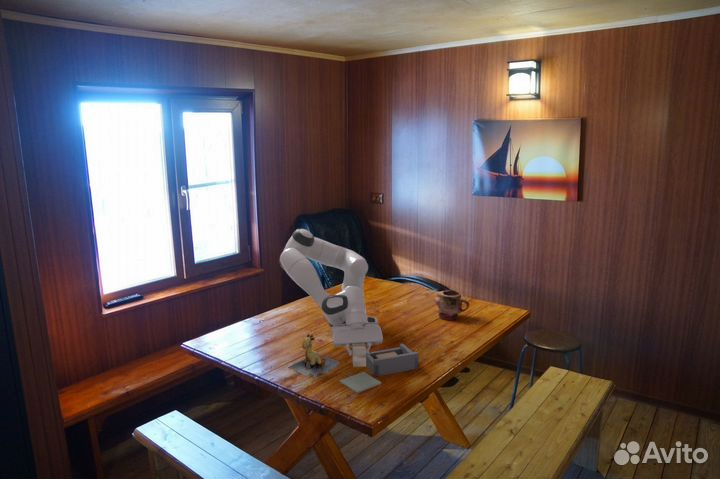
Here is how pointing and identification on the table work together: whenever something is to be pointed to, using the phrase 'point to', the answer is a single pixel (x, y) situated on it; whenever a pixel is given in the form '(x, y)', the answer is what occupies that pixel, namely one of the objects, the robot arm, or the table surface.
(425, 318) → the table surface
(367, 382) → the mat
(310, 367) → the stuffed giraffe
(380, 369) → the nook
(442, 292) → the brown ceramic mug
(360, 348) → the block
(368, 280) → the table surface
